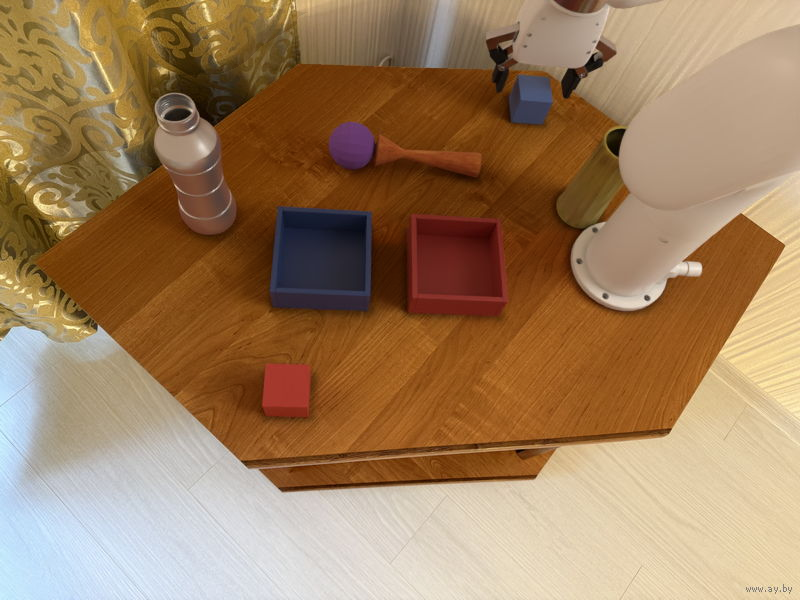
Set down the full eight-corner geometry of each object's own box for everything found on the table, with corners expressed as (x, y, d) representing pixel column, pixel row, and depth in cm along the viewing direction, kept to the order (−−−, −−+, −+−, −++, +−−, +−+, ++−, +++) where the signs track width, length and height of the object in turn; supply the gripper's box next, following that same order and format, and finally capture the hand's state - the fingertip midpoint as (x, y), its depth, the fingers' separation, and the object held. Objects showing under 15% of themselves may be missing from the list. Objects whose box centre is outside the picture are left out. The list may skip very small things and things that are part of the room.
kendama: (484, 176, 76) (328, 152, 73) (470, 194, 82) (325, 173, 79) (486, 134, 78) (333, 109, 74) (472, 154, 83) (329, 132, 80)
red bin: (492, 236, 77) (501, 218, 73) (498, 316, 73) (508, 301, 69) (406, 232, 76) (411, 213, 72) (407, 312, 72) (412, 297, 68)
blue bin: (369, 230, 76) (371, 211, 72) (367, 311, 71) (370, 296, 67) (280, 225, 75) (277, 205, 71) (273, 307, 70) (269, 291, 66)
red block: (311, 376, 67) (309, 364, 63) (308, 417, 65) (307, 407, 61) (269, 375, 67) (265, 363, 63) (266, 416, 65) (262, 406, 61)
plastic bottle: (199, 189, 75) (158, 71, 57) (248, 207, 75) (223, 95, 57) (174, 230, 73) (123, 120, 54) (225, 249, 72) (191, 145, 54)
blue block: (539, 100, 88) (549, 77, 84) (542, 124, 86) (553, 102, 82) (508, 97, 87) (517, 74, 83) (511, 122, 86) (520, 99, 81)
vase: (597, 234, 79) (651, 171, 66) (553, 223, 79) (598, 158, 66) (600, 197, 82) (653, 129, 69) (557, 186, 82) (602, 116, 69)
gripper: (646, -33, 70) (586, 72, 86) (504, -50, 68) (469, 61, 84) (657, 14, 67) (593, 114, 83) (508, -2, 65) (472, 104, 81)
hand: (531, 87), depth 83 cm, fingers open, 9 cm apart
